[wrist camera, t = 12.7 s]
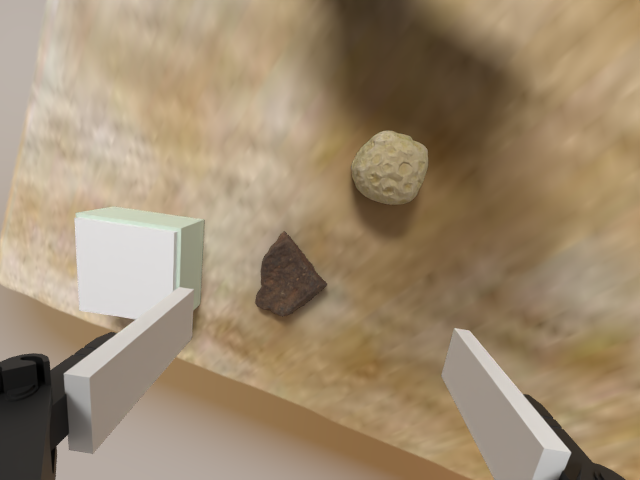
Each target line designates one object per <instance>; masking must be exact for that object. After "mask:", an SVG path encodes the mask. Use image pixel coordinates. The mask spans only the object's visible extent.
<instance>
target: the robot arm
mask: <svg viewBox="0 0 640 480" xmlns="http://www.w3.org/2000/svg"><path fill="white" fill-rule="evenodd" d="M193 303H194V289H189V288H182V287H179V288H177V289H176V290H175V291H173V292H172V293H171V294H169V295H168V296H167V297H165V298H164V299H163V300H161V301H160V302H159V303H157V304H156V305H155V306H153V307H152V308H151V309H149V310H148V311H147V312H145V313H144V314H143V315H141V316H140V317H139V318H137V319H136V320H135V321H133V322H132V323H131V324H129V325H128V326H127V327H125V328H124V329H123V330H121V331H120V332H119V333H114V332H110V333H108V334H105V335H103V336H100V337H98V338H96V339H94V340H93V341H92V342H90V343H89V344H87V345H86V346H85V347H84V348H82V349H80V350H79V351H77V352H76V353H75V355H72V356H70V357H69V358H68V359H66V360H64V361H63V362H62V363H60V364H59V365H57V366H56V367H55V368H53V369H52V370H50V362H49V359H48V357H47V356H45V355H43V354H24V355H19V356H16V357H11V358H8V359H6V360H4V361H2V362H0V480H55V477H56V462H57V447H56V446H57V445H58V444H59V443H60V442H61V441H62V440H63V439H64V438H65V437H66V436H67V435H68V442H69V450H73V451H79V452H85V453H91V454H93V453H94V452H95V451H96V449H98V447H99V446H100V445H101V444H102V443H103V442H104V440H105V439H106V438H107V436H109V435H110V433H111V432H112V431H113V430H114V429H115V427H116V426H117V425H118V424H119V423H120V421H121V420H122V419H123V418H124V417H125V416H126V415H127V413H128V412H129V411H130V410H131V409H132V408H133V406H134V405H135V404H136V403H137V402H138V401H139V399H140V398H141V397H142V396H143V395H144V393H145V392H146V391H147V390H148V389H149V388H150V387H151V385H152V384H153V383H154V382H155V381H156V379H157V378H158V377H159V376H160V375H161V374H162V372H163V371H164V370H165V369H166V368H167V367H168V365H169V364H170V363H171V362H172V361H173V360H174V358H175V357H176V356H177V355H178V354H179V353H180V351H181V350H182V349H183V348H184V347H185V346H186V344H187V343H188V342H189V341H190V340H191V339H192V326H193ZM441 376H442V378H443V380H444V382H445V384H446V386H447V388H448V390H449V392H450V394H451V396H452V398H453V400H454V402H455V404H456V405H457V407H458V409H459V411H460V413H461V415H462V417H463V419H464V421H465V423H466V425H467V427H468V429H469V431H470V433H471V435H472V437H473V439H474V441H475V443H476V444H477V446H478V448H479V450H480V452H481V454H482V456H483V458H484V460H485V462H486V464H487V466H488V468H489V470H490V472H491V474H492V476H493V478H494V480H625V479H624V478H623V477H621V476H620V475H618V474H617V473H615V472H614V471H612V470H610V469H608V468H606V467H604V466H602V465H600V464H595V463H593V462H592V461H591V460H590V459H589V458H588V457H587V455H586V454H585V453H584V452H583V451H582V450H581V449H580V448H579V446H578V445H577V444H576V443H575V442H574V441H573V440H572V438H571V437H570V436H569V435H568V434H567V433H566V432H565V430H563V429H562V428H561V426H560V425H559V424H558V422H557V421H556V420H554V419H553V417H552V416H551V415H550V413H549V412H548V411H547V410H546V409H545V408H544V407H543V406H542V405H541V404H540V403H539V402H537V401H536V400H535V399H533V398H532V397H531V396H529V395H526V394H522V393H521V392H520V390H519V389H518V388H517V387H516V386H515V384H514V383H513V382H512V381H511V380H510V378H509V377H508V376H507V375H506V374H505V372H504V371H503V370H502V369H501V368H500V366H499V365H498V364H497V363H496V362H495V360H494V359H493V358H492V357H491V356H490V354H489V353H488V352H487V351H486V350H485V348H484V347H483V346H482V345H481V344H480V342H479V341H478V340H477V339H476V338H475V336H474V335H473V334H472V333H471V332H470V330H463V329H456V328H454V330H453V334H452V338H451V341H450V345H449V349H448V353H447V356H446V360H445V364H444V368H443V371H442V375H441Z"/></svg>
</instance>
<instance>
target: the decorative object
mask: <svg viewBox="0 0 640 480" xmlns="http://www.w3.org/2000/svg"><path fill="white" fill-rule="evenodd" d="M351 169H352V178H353V180H354V182H355V185H356V188H357V189H358V190H359V191H360V192H361V193H362V194H363V195H364V196H366V197H368V198H369V199H371V200H374V201H376V202H380V203H384V204H388V205H389V204H392V205H398V204H404V203H408V202H410V201H412V199H413V198H415V197H416V196H417V193H418V191H419V189H420V187H421V185H422V183H423V181H424V177H425V175H426V172H427V169H428V150H427V149H426V147H425V146H424V145H422V144H421V143H419V142H416V141H414V140H412V138H411V136H408V135H405V134H399V133H396V132H394V131H388V130H387V131H382V132H379V133H378V134H376V135H374V136H373V137H372V138H371V139H370V140H369V141H368V142H367V143H366V144H364V145H363V146H362V147H361V148H360V150H359V152H357V154H356V156H355V159H354V161H353V162H352V165H351Z"/></svg>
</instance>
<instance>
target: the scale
mask: <svg viewBox="0 0 640 480" xmlns="http://www.w3.org/2000/svg"><path fill="white" fill-rule="evenodd" d="M75 237H76V255H77V274H78V293H79V311H85V312H92V313H99V314H105V315H112V316H118V317H125V318H129V319H134V320H136V319H137V318H139V317H140V316H141V315H143V314H144V313H145V312H147V311H148V310H149V309H151V308H152V307H153V306H155V305H156V304H157V303H159V302H160V301H161V300H163V299H164V298H165V297H167V296H168V295H169V294H171V293H172V292H173V291H175V290H176V289H177V288H179V287H182V288H189V289H194V303H193V311H194V310H195V309H196V308H197V307H198V306H199V305H200V299H201V278H202V257H203V237H204V219H197V218H190V217H183V216H176V215H169V214H163V213H156V212H149V211H142V210H135V209H128V208H121V207H108V208H102V209H96V210H90V211H84V212H78V213H76V218H75Z"/></svg>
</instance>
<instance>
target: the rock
mask: <svg viewBox="0 0 640 480" xmlns="http://www.w3.org/2000/svg"><path fill="white" fill-rule="evenodd" d="M261 285H262V287H261V289H260V290H259V291H258V293H257V295H256V300H255V303H256V305H257V306H258V307H260V308H262V309H265V310H270V311H271V312H272V313H274V314H278V315H280V316H286V315H289V314H291V313H293V312H294V311H295V310H296V309H298V308H300V307H301V306H304V305H305V304H306V303H307V302H308V301H310V300H311V299H312V298H313V297H314V296H315V295H317V294H318V293H319V292H320V291H322V290H323V289H324V288H325V287H326V286H327V283H326V282H325V281H324V280H323V279H322V278H321V277H320V276H319V275H318V274H317V273H316V271H315V269H314V267H313V265H312V264H311V263H310V262H309V261H308V260H307V258H306V257H305V255H304V254H303V253H302V251H301V250H300V249H299V248H298V246H297V245H296V244H295V243H294V241H293V240H292V239H291V238H290V236H289V235H287V233H286V232H285V231H284V232H283V233H282V234H281V235H280V236H279V238H278V240H277V241H276V242H275V243H274V244H273V245H272V246H271V247H270V249H269V251H268V253H267V254H266V255H265V256H264V258H263V261H262V267H261Z"/></svg>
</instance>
